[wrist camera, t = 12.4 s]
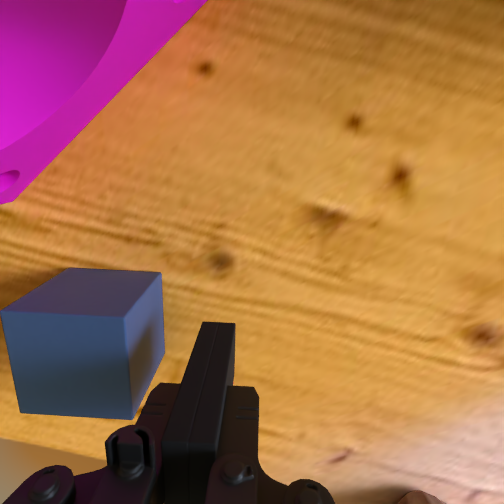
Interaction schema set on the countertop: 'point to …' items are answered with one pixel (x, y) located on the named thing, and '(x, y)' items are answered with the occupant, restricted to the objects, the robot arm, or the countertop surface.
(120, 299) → the cube
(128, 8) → the toy block
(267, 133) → the countertop surface
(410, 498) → the cupcake
